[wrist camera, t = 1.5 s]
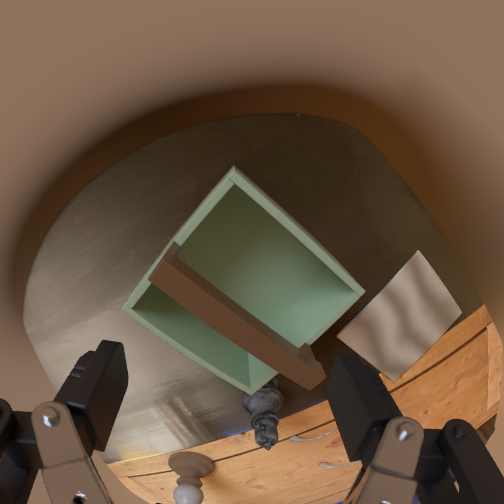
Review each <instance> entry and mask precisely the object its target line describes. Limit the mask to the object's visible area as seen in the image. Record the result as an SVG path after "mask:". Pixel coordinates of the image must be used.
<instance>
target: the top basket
mask: <svg viewBox="0 0 504 504" xmlns="http://www.w3.org/2000/svg"><path fill="white" fill-rule="evenodd" d="M364 293H365V290H364V289H363V288H362V287H361V286H360V285H359V284H358V283H357V281H356V280H355V279H354V278H353V277H352V276H351V275H350V274H349V273H348V272H347V270H346V269H345V268H344V267H343V266H342V265H341V264H340V263H339V262H338V261H337V260H336V259H335V258H334V257H333V256H332V255H331V254H330V253H329V252H328V251H327V250H326V249H325V248H324V247H323V246H322V245H320V244H319V243H318V242H317V241H316V240H315V239H314V238H313V237H312V236H311V235H310V234H309V233H308V232H307V231H305V230H304V229H303V228H302V227H301V226H300V225H299V224H298V223H297V222H296V221H295V220H294V219H292V218H291V217H290V216H289V215H288V214H287V213H286V212H285V211H284V210H283V209H281V208H280V207H279V206H278V205H277V204H276V203H275V202H274V201H273V200H271V199H270V198H269V197H268V196H267V195H266V194H265V193H264V192H262V191H261V190H260V189H259V188H258V187H257V186H256V185H254V184H253V183H252V182H251V181H250V180H249V179H248V178H246V177H245V176H244V175H243V174H242V173H241V172H239V171H238V170H237V169H236V168H235V167H233V168H232V170H231V171H230V172H229V173H228V174H227V175H226V176H225V177H224V179H223V180H222V181H221V182H220V183H219V184H218V185H217V187H216V188H215V189H214V190H213V191H212V192H211V194H210V195H209V196H208V197H207V198H206V199H205V201H204V202H203V203H202V204H201V205H200V207H199V208H198V209H197V210H196V211H195V213H194V214H193V215H192V216H191V217H190V219H189V220H188V221H187V222H186V223H185V225H184V226H183V227H182V228H181V230H180V231H179V232H178V233H177V234H176V236H175V237H174V238H173V239H172V241H171V242H170V243H169V244H168V246H167V247H166V248H165V249H164V251H163V252H162V253H161V255H160V256H159V257H158V258H157V260H156V261H155V262H154V264H153V265H152V266H151V267H150V269H149V270H148V271H147V273H146V274H145V275H144V277H143V278H142V280H141V281H140V283H139V284H138V286H137V287H136V289H135V290H134V292H133V293H132V295H131V296H130V298H129V299H128V301H127V302H126V304H125V305H124V307H123V308H122V310H123V311H124V312H126V313H127V314H128V315H130V316H131V317H132V318H134V319H135V320H136V321H138V322H139V323H140V324H142V325H143V326H144V327H146V328H147V329H149V330H150V331H151V332H153V333H154V334H155V335H157V336H158V337H160V338H161V339H163V340H164V341H165V342H167V343H168V344H170V345H171V346H173V347H174V348H176V349H177V350H179V351H180V352H182V353H183V354H185V355H186V356H188V357H189V358H191V359H192V360H194V361H195V362H197V363H198V364H200V365H201V366H203V367H205V368H206V369H208V370H209V371H211V372H213V373H214V374H216V375H217V376H219V377H221V378H222V379H224V380H226V381H227V382H229V383H231V384H232V385H234V386H236V387H237V388H239V389H241V390H243V391H244V392H246V393H248V394H250V395H252V394H253V393H255V392H256V391H257V390H259V389H260V388H261V387H262V386H263V385H265V384H266V383H267V382H268V381H270V380H271V379H272V378H273V377H274V376H276V375H277V374H278V373H281V374H282V375H284V376H286V377H287V378H289V379H290V380H292V381H294V382H295V383H297V384H299V385H300V386H302V387H304V388H305V389H307V390H309V391H311V390H312V389H313V388H314V387H316V386H317V385H318V384H319V383H321V382H322V381H323V380H324V379H325V378H326V375H325V373H324V370H323V368H322V365H321V364H320V363H319V362H318V361H316V360H315V357H314V354H313V352H312V349H311V347H310V345H311V344H312V343H313V342H314V341H315V340H316V339H318V338H319V337H320V336H321V335H322V334H323V333H324V332H325V331H326V330H327V329H328V328H329V327H330V326H331V325H332V324H333V323H335V322H336V321H337V320H338V319H339V318H340V317H341V316H342V315H343V314H344V313H345V312H346V311H347V310H348V309H349V308H350V307H351V306H352V305H353V304H354V303H355V302H356V301H357V300H358V299H359V298H360V297H361V296H362V295H363V294H364ZM359 296H360V297H359Z"/></svg>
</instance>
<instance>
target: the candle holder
mask: <svg viewBox="0 0 504 504" xmlns="http://www.w3.org/2000/svg"><path fill="white" fill-rule="evenodd" d="M168 463H169V466H170V468H171V469H172V470H174V471H175V472H176V473H177V474H178V475H180V478H178V479H177V484H178V485H179V486H177V487H176V488H175V490H174V493H173V495H174V499H175V502H176V504H201V503H202V501H203V498H204V495H203V492H202V490H201V489H200V488H201V487H202V485H203V484H202V482H201V481H200V479H199V478H203V477H205V476H206V475H208V474H210V473H212V472H213V469H214V464H213V462H212V461H211V460H210V459H209V458H208V457H206V456H204V455H201V454H198V453H192V452H180V453H176V454H173V455H172V456H171V457H170V458H169V462H168Z"/></svg>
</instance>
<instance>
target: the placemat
mask: <svg viewBox="0 0 504 504" xmlns="http://www.w3.org/2000/svg"><path fill="white" fill-rule="evenodd" d="M461 314H462V311H461V310H460V308H459V307H458V305H457V303H456V302H455V300H454V299H453V297H452V296H451V294H450V293H449V291H448V290H447V288H446V287H445V286H444V284H443V283H442V281H441V280H440V278H439V277H438V275H437V274H436V273H435V271H434V270H433V268H432V267H431V266H430V264H429V263H428V262H427V260H426V259H425V258H424V256H423V255H422V254H421V252H420V251H419V250H417V251H416V253H415V254H414V255H413V256H412V257H411V258H410V259H409V261H408V262H407V263H406V264H405V265H404V266H403V267H402V268H401V270H400V271H399V272H398V273H397V274H396V275H395V276H394V277H393V278H392V279H391V281H390V282H389V283H388V284H387V285H386V286H385V287H384V288H383V289H382V290H381V291H380V292H379V293H378V294H377V295H376V296H375V297H374V298H373V299H372V300H371V301H370V303H369V304H368V305H367V306H366V307H365V308H364V309H363V310H362V311H361V312H360V313H359V314H358V315H357V316H356V317H355V318H353V319H352V320H351V321H350V322H349V323H348V324H347V325H346V326H345V327H344V328H343V329H342V330H341V331H340V332H339V333H338V334H337V335H336V336H337V337H338V338H339V339H340V340H341V341H343V342H344V343H345V344H346V345H348V346H349V347H350V348H351V349H353V350H354V351H355V352H356V353H358V354H359V355H360V356H362V357H363V358H364V359H365V360H367V361H368V362H369V363H370V364H372V365H373V366H374V367H376V368H377V369H378V370H379V371H381V372H382V373H383V374H384V375H386V376H387V377H388V378H390V379H391V380H392V381H393V382H395V381H396V380H397V379H398V378H399V377H400V376H401V375H402V374H403V373H405V372H406V371H407V370H408V369H409V368H410V367H411V366H412V365H413V364H414V363H415V362H416V361H417V360H418V359H419V358H420V357H421V356H422V355H423V354H424V353H425V352H426V351H427V350H428V349H429V348H430V347H431V346H432V345H433V344H434V343H435V342H436V341H437V340H438V339H439V338H440V337H441V336H442V335H443V334H444V333H445V332H446V330H447V329H448V328H449V327H450V326H451V325H452V324H453V323H454V322H455V320H456V319H457V318H458V317H459V316H460V315H461Z"/></svg>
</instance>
